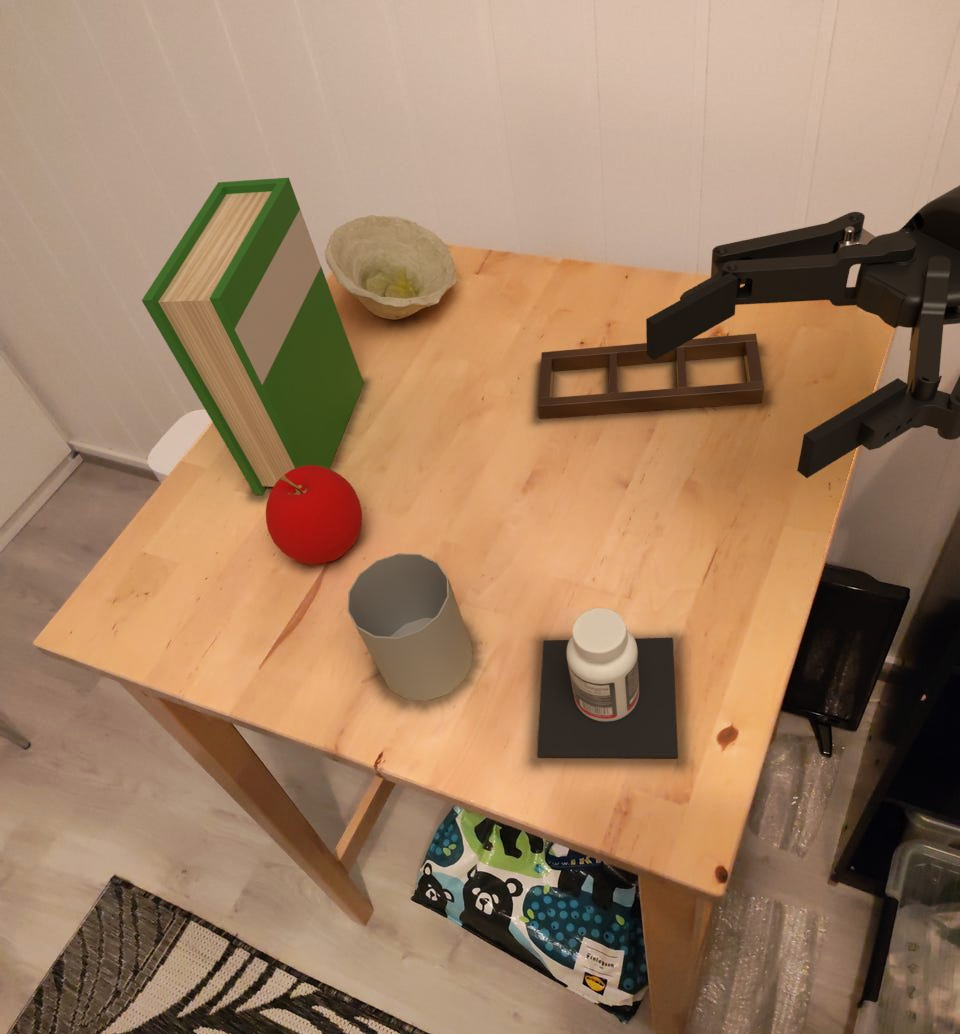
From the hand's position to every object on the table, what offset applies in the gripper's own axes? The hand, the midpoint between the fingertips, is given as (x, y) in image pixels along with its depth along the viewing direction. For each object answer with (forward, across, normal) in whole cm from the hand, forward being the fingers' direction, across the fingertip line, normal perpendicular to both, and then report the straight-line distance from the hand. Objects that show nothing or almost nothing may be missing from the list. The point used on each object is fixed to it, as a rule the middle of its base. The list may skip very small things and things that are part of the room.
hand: (721, 394), depth 49 cm
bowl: (-2, +60, -26) cm, 65 cm away
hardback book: (+17, +47, -26) cm, 56 cm away
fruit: (+22, +31, -26) cm, 46 cm away
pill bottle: (+10, 0, -26) cm, 28 cm away
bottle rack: (-16, +29, -26) cm, 42 cm away
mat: (+10, 0, -26) cm, 28 cm away
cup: (+20, +13, -27) cm, 36 cm away
